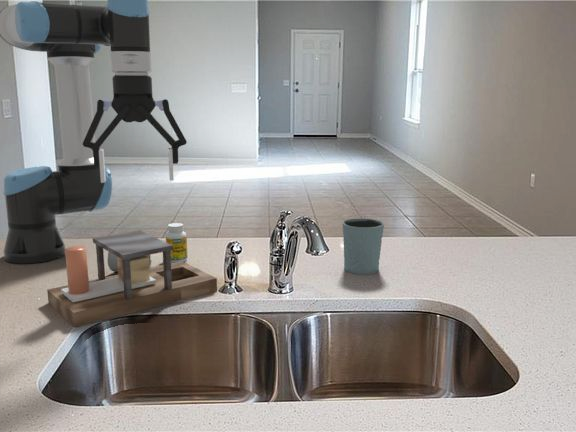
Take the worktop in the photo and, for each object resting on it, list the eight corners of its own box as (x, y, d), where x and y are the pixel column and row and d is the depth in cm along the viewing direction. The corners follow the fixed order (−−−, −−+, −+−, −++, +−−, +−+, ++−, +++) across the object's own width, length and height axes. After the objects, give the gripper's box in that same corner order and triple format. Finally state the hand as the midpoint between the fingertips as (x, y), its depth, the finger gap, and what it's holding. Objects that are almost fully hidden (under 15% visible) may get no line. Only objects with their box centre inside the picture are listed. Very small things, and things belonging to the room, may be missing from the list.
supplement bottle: (182, 255, 159) (180, 221, 157) (191, 260, 155) (189, 225, 152) (163, 259, 156) (161, 224, 153) (172, 264, 151) (170, 228, 149)
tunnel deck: (48, 302, 126) (43, 246, 123) (182, 272, 145) (180, 223, 142) (74, 327, 113) (69, 265, 111) (217, 290, 133) (215, 237, 130)
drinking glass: (337, 272, 145) (338, 225, 143) (345, 261, 155) (347, 216, 152) (378, 277, 142) (380, 228, 140) (384, 264, 152) (386, 219, 149)
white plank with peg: (61, 292, 122) (57, 247, 120) (142, 275, 133) (139, 233, 131) (73, 302, 117) (69, 255, 115) (156, 283, 128) (154, 239, 126)
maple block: (118, 278, 129) (116, 256, 128) (139, 273, 132) (138, 252, 131) (128, 284, 125) (126, 261, 124) (149, 279, 128) (148, 257, 127)
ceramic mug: (137, 279, 141) (135, 247, 139) (107, 275, 143) (105, 244, 141) (159, 266, 150) (158, 237, 149) (131, 263, 153) (130, 234, 151)
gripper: (62, 74, 110) (71, 185, 115) (197, 74, 116) (200, 181, 121) (67, 74, 117) (76, 179, 122) (194, 74, 123) (197, 175, 128)
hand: (137, 180), depth 121 cm, fingers open, 13 cm apart
